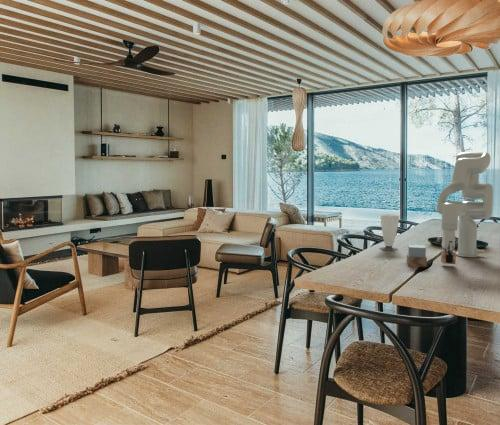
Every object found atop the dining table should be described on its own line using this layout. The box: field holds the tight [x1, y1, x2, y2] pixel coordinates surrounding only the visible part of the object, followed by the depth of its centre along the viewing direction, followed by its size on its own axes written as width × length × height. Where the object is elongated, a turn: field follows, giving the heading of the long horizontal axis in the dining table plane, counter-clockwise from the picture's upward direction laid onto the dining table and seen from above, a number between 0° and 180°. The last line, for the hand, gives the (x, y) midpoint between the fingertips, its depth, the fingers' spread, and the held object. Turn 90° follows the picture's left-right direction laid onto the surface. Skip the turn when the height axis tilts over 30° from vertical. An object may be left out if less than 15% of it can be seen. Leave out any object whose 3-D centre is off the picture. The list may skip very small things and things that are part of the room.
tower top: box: [407, 244, 427, 258], centre depth 237 cm, size 8×8×5 cm
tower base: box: [406, 253, 428, 268], centre depth 237 cm, size 9×9×5 cm
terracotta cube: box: [440, 249, 457, 265], centre depth 234 cm, size 6×6×6 cm
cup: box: [379, 213, 400, 252], centre depth 281 cm, size 12×12×22 cm
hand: (448, 260), depth 234 cm, fingers closed on terracotta cube, 6 cm apart
